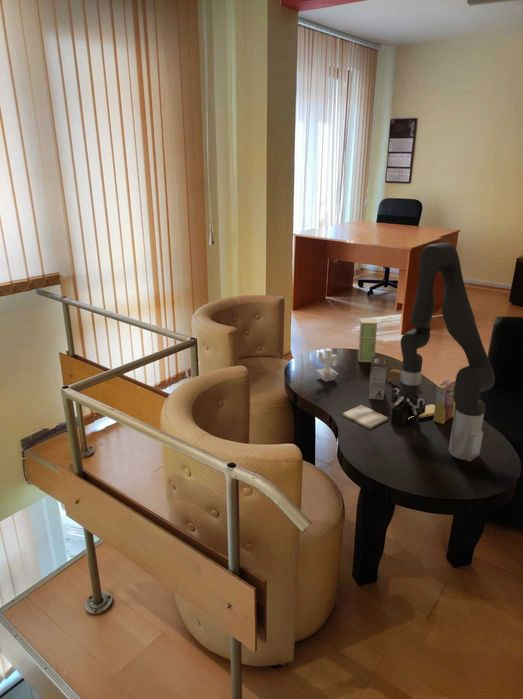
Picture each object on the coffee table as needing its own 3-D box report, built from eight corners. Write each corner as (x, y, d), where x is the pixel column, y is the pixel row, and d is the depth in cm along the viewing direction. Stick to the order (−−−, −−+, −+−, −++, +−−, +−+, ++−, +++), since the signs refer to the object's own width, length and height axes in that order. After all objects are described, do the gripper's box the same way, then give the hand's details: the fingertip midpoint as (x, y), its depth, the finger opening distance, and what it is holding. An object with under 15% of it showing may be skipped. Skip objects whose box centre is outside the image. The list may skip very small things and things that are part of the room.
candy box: (443, 412, 203) (448, 378, 197) (453, 416, 200) (458, 381, 194) (432, 420, 197) (436, 385, 191) (442, 424, 194) (447, 389, 188)
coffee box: (368, 389, 223) (371, 356, 217) (383, 390, 221) (386, 357, 215) (368, 399, 214) (371, 364, 208) (384, 400, 213) (387, 365, 207)
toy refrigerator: (358, 362, 250) (360, 322, 242) (357, 356, 257) (360, 317, 249) (374, 363, 249) (377, 323, 241) (373, 357, 256) (376, 318, 248)
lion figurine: (416, 382, 228) (418, 364, 225) (417, 387, 224) (419, 369, 220) (383, 380, 231) (385, 362, 228) (383, 385, 226) (385, 367, 223)
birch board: (388, 419, 198) (388, 417, 197) (369, 429, 191) (370, 427, 191) (360, 406, 208) (361, 404, 207) (342, 415, 201) (342, 413, 201)
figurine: (339, 380, 232) (341, 350, 226) (321, 383, 228) (323, 353, 223) (331, 374, 238) (333, 344, 232) (314, 377, 234) (315, 348, 229)
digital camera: (403, 428, 192) (404, 412, 189) (390, 423, 195) (392, 407, 193) (417, 418, 198) (418, 403, 196) (404, 414, 202) (406, 398, 199)
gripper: (432, 383, 187) (427, 421, 193) (401, 371, 197) (397, 408, 203) (420, 389, 183) (415, 428, 189) (388, 376, 193) (385, 413, 199)
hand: (406, 417), depth 196 cm, fingers open, 8 cm apart
